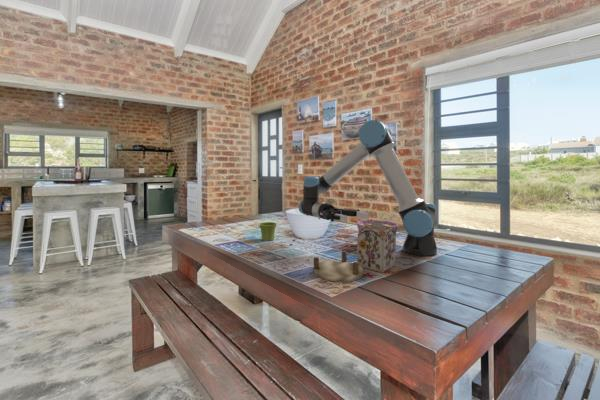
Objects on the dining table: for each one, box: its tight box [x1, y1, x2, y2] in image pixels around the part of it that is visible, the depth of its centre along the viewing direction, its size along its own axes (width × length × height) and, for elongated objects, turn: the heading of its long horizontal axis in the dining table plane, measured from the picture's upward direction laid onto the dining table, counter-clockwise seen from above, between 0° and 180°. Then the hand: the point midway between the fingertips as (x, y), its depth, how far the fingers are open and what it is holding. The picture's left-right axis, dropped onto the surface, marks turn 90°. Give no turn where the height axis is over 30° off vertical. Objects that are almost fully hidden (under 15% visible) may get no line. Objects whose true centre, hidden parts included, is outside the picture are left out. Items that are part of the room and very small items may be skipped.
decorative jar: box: [356, 221, 397, 273], centre depth 128 cm, size 12×12×18 cm
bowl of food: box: [356, 219, 399, 234], centre depth 159 cm, size 20×20×12 cm
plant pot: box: [258, 221, 278, 242], centre depth 171 cm, size 9×9×9 cm
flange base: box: [312, 250, 364, 283], centre depth 120 cm, size 18×18×6 cm
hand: (357, 217), depth 134 cm, fingers open, 13 cm apart
